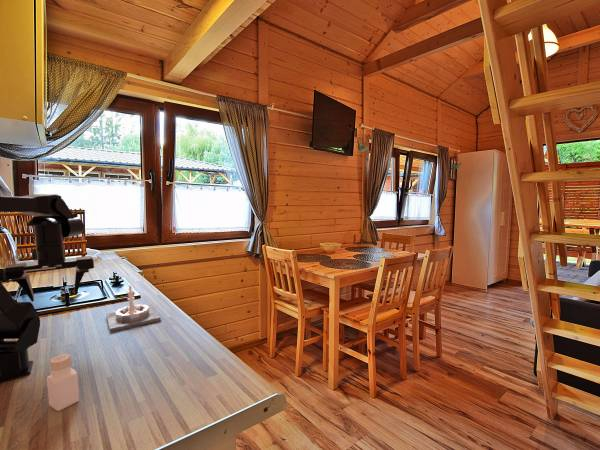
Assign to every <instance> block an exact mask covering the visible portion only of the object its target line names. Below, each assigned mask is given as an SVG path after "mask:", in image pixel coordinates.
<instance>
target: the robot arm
mask: <svg viewBox="0 0 600 450" xmlns="http://www.w3.org/2000/svg"><path fill="white" fill-rule="evenodd" d="M0 213H20V214H21V213H22V214H24V215H27V216H32V218H31V219H30V220H29V221H27V223H26V226H27V227H33V230H34V238H35V239H34V240H35V241H34V242H35V248H32V249H31V253H32V254H31V255H32V260H33V262H37V264H35V265H34V264H33V265H27V263H26V262H22V263H14V264H7V266H6V267H4V269H3V272H2V276H3V277H2V278H3V280H10V282H11V283H17V285H19V286H20V287H21V288H22V289H23V291H24V292H25V294H26V295H27V296H28V298H29V300H30V301H15V299H14V298H13V296H12V294H10V292H9V291H8V290H7V288H6V286H4V284H3V282H2V281H1V280H0V383H3V382H6V381H11V380H14V379H18V378H21V377H25V376H29V375H30V374H31V372H32V368H33V366H34V365H33V364H34V360H30V359H29V348H30V347H33V346H34V345H35V344H37V343H38V339H39V334H40V327H41V319H40V316H39V314H40V312H39V311H37V310H36V309H35V307H34V304H33V302H35V294H34V291H33V287H32V284H31V283H32V282H31V279H30V274H31V273H40V272H47V271H56V270H62V269H63V270H64V269H73V268H75V276H74V277H75V278H74V289H73V290H74V295H77V294H78V292H79V289H80V285H81V282H82V280H83V277H84V275H85V274H87V273H89V272H90V271H89V270H93V269H95V262H94V258H93V257H92V256H91V255H87V256H86V255H85V256H77V257H76V258H75V259H76V260H71V261H70V260H68V261H66V254H65V253H66V252H65V249H64V248H65V247H64V240H63V239H67V238H71V237H77V236H80V235H81V234H82V233H83V232H84V230H85V224H84V222H83V220H82V219H80V218H79V217H77V213H74V212H72V211H71V209H70V208H69V206H68V205H67V203H66V202H65V200H64V199H62V196H61V195H60V194H58V193H55V194H54V193H49V194H46V193H45V194H43V193H39V194H37V193H36V194H33V193H32V194H28V195H23V196H15V195H14V196H13V195H12V196H11V195H0Z"/></svg>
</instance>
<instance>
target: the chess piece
mask: <svg viewBox="0 0 600 450" xmlns="http://www.w3.org/2000/svg"><path fill="white" fill-rule="evenodd" d="M132 288H133V287H132V285H128V291H127V292H126V294H127V296H128V298H127V299H126V300H127V301H129V303H128V304H129V305H128V306H129V311H128V312H127V313H125V314H132V313H137V312H140V311H138V310H136V309H135V308H134V305H135V304H134V300H135V297H134V293H135V291H134V290H133V289H132Z"/></svg>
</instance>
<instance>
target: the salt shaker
mask: <svg viewBox="0 0 600 450" xmlns="http://www.w3.org/2000/svg"><path fill="white" fill-rule="evenodd" d="M71 359H72V358H71V354H68V353H64V354H59V355H56V356H54V357H52V358H51V359H50V360H49V365H50V372H51V374H49V375H48V376H47V377H46V384H47V385H46V387H47V395H48V397H47V398H48V404H49V406H50V407H52V408H53V410H55V411H57V412H60V411H62V410H64V409H66V408H68V407H70V406H72V405H74V404H76V403H78V402H79V400H80V390H79V381H78V380H79V379H78V372H77V371H76V369H75V368H72V360H71Z"/></svg>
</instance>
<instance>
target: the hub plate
mask: <svg viewBox="0 0 600 450" xmlns="http://www.w3.org/2000/svg"><path fill="white" fill-rule="evenodd" d="M134 308H135V309H136V310H138V311H140V312H137V313H132V314H125V313H127V312H128V311H129V305H128V306H123V307H120V308H118V309H117V310H116V311H114V312H113V311H112V312H110V313H109V312H108V313H106V314H105V315H106V321H107V325H108V329H109V330H108V331H109V333H114V332H115V333H116V332H119V331H123V330H127V329H133V328H135V327H136V328H137V327H141V326H144V325H148V324H149V325H150V324H153V323H158V322H161V321H162V320H161V316H160V315H159V313H158V311H157V310H156V309H155V307H154V305H153V304H149V305H147V304H141V303H139V304H134Z"/></svg>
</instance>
